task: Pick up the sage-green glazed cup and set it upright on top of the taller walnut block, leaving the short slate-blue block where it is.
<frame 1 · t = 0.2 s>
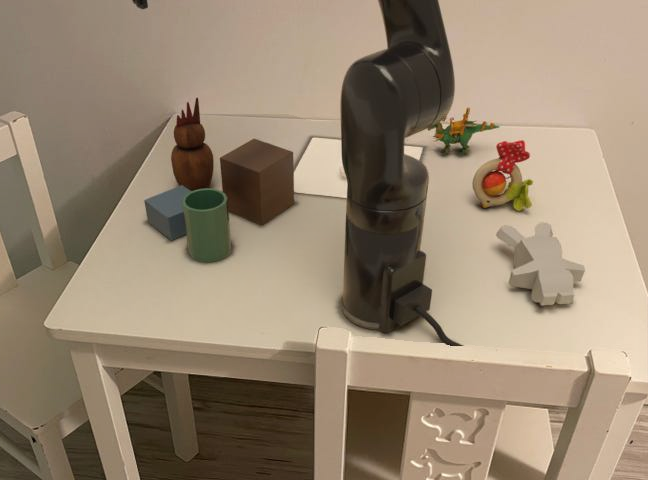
hand: (168, 0, 105), 29 cm above the table, tool pointing down, fingers open, 8 cm apart
walnut block: (259, 206, 118), on the table
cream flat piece: (355, 169, 126), on the table
wooden figurine: (195, 188, 124), on the table
figurine: (459, 154, 128), on the table
slate block: (178, 223, 115), on the table
cup: (210, 250, 109), on the table
bird rattle: (499, 207, 114), on the table
bunny figurine: (535, 278, 101), on the table
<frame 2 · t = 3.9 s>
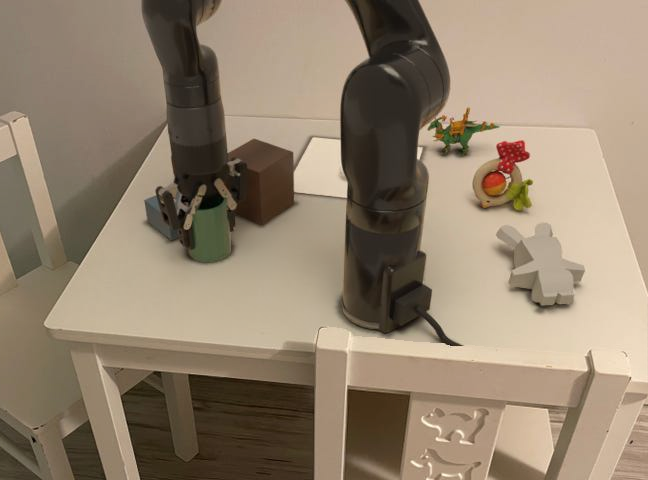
hand: (208, 238, 108), 2 cm above the table, tool pointing down, fingers closed on cup, 6 cm apart
cup: (210, 250, 109), on the table, touching gripper
everything else where it was.
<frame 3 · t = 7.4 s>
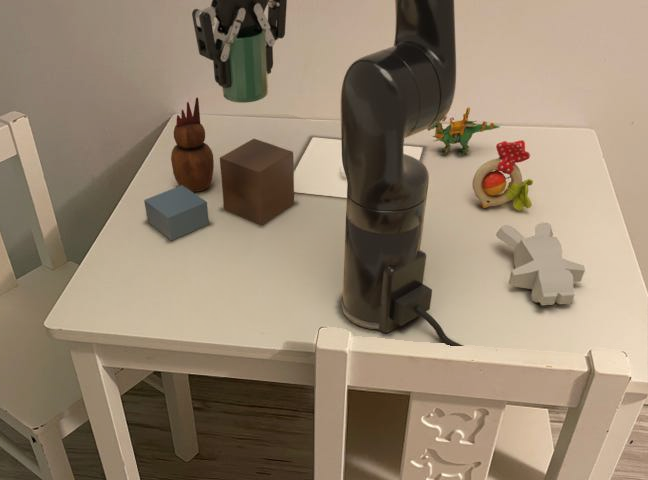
hand: (244, 79, 102), 21 cm above the table, tool pointing down, fingers closed on cup, 6 cm apart
cup: (245, 93, 104), point 19 cm above the table, touching gripper
everything else where it was.
when the fingers open (11 cm above the table, at t = 10.9 s): cup stays where it is, resting on walnut block.
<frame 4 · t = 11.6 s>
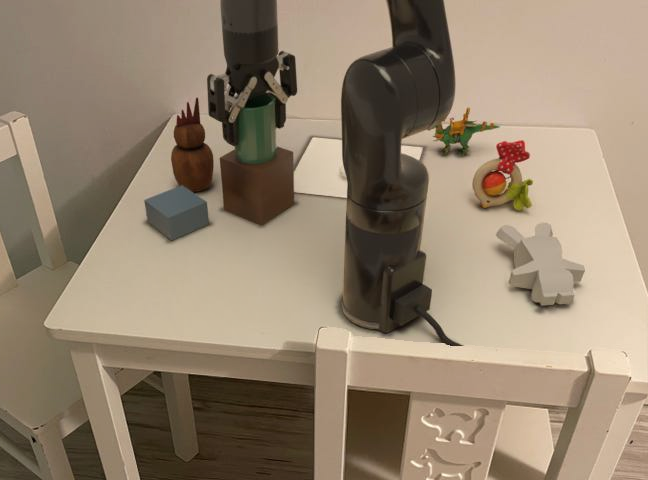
hand: (255, 135, 109), 12 cm above the table, tool pointing down, fingers open, 8 cm apart
walnut block: (259, 206, 118), on the table, touching cup
cup: (256, 154, 112), point 9 cm above the table, touching walnut block
everything else where it was.
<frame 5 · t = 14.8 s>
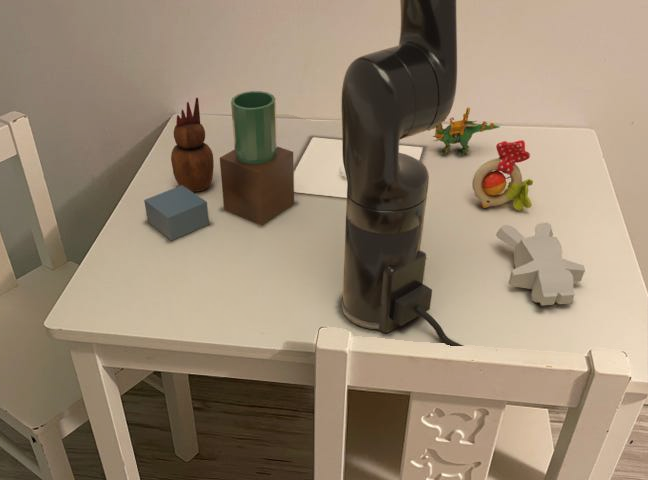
nothing on the table moved.
at the end: cup 0.0 cm off-centre on the walnut block, point 9.0 cm above the walnut block's base; cup tilted 0°; the gripper is holding nothing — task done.
